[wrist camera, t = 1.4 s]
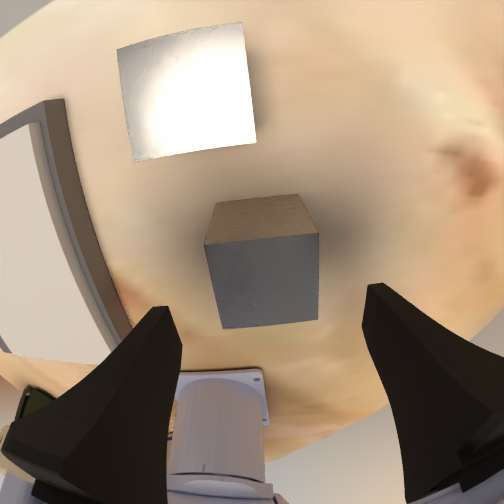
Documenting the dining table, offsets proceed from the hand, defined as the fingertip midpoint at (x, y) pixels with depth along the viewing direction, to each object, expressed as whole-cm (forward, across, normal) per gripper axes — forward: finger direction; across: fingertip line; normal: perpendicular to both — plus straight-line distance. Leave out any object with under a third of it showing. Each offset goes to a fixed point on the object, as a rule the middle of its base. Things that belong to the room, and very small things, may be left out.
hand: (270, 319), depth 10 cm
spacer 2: (+7, 0, 0) cm, 7 cm away
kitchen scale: (+7, +18, -1) cm, 19 cm away
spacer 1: (+7, +2, -8) cm, 11 cm away
